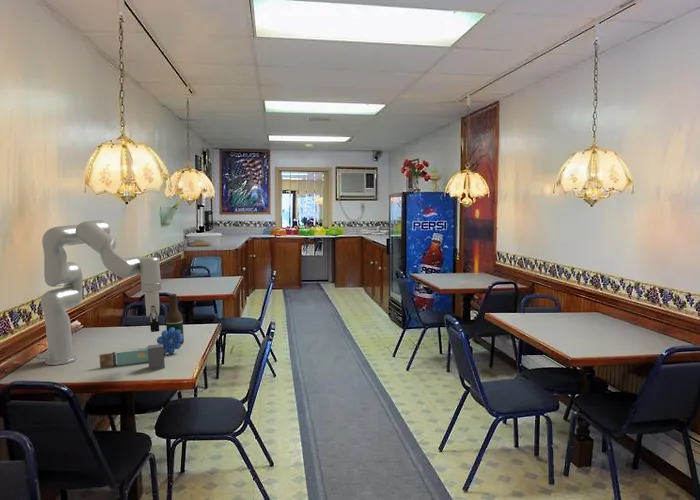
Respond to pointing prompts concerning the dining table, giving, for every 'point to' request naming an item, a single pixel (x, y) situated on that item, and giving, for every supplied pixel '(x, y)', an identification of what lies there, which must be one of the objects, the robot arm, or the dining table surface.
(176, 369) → the dining table surface
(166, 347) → the grapes
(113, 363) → the brown wooden block
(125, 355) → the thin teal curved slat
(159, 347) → the doorstop block
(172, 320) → the beer bottle
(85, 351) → the dining table surface
